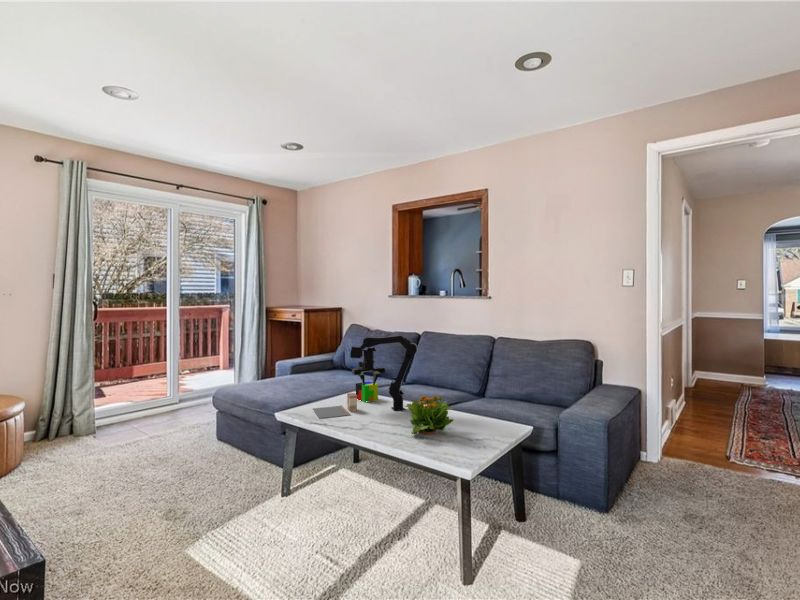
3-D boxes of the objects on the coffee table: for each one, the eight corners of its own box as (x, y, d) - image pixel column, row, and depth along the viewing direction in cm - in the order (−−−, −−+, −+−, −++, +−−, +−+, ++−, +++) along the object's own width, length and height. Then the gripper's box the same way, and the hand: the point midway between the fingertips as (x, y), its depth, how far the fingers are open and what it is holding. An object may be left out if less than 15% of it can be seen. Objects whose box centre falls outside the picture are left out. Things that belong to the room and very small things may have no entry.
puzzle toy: (368, 396, 269) (368, 381, 269) (378, 399, 261) (378, 383, 261) (355, 399, 263) (355, 383, 262) (364, 402, 255) (364, 386, 255)
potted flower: (394, 426, 208) (394, 391, 207) (436, 420, 217) (436, 387, 217) (417, 442, 185) (417, 403, 185) (462, 435, 195) (462, 398, 194)
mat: (350, 415, 227) (350, 414, 227) (319, 418, 221) (319, 417, 221) (341, 406, 246) (341, 405, 246) (312, 409, 239) (312, 408, 239)
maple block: (356, 411, 236) (356, 395, 236) (349, 411, 234) (349, 395, 234) (354, 408, 241) (353, 392, 241) (347, 409, 240) (347, 393, 240)
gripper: (379, 355, 252) (379, 381, 252) (349, 357, 245) (349, 384, 245) (385, 358, 242) (385, 385, 242) (354, 360, 235) (354, 388, 235)
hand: (368, 385), depth 241 cm, fingers open, 6 cm apart
